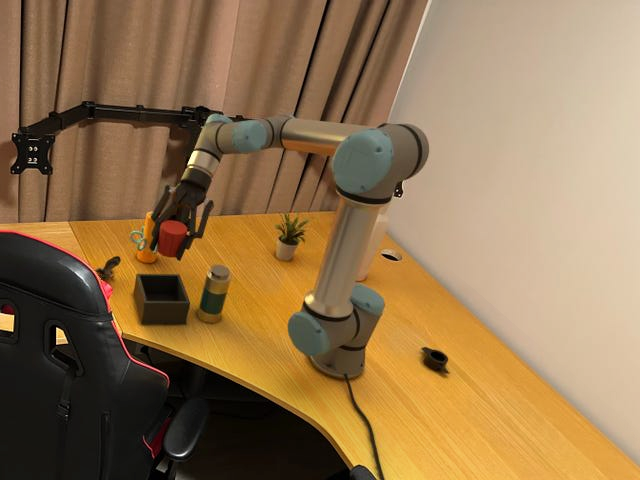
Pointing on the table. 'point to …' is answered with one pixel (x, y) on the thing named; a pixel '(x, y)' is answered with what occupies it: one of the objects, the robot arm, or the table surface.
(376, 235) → the bottle
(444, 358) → the black flanged ring
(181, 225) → the cap
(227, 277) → the spray can
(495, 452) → the table surface
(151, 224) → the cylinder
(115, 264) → the eagle figurine
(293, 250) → the house plant
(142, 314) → the bin
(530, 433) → the table surface
